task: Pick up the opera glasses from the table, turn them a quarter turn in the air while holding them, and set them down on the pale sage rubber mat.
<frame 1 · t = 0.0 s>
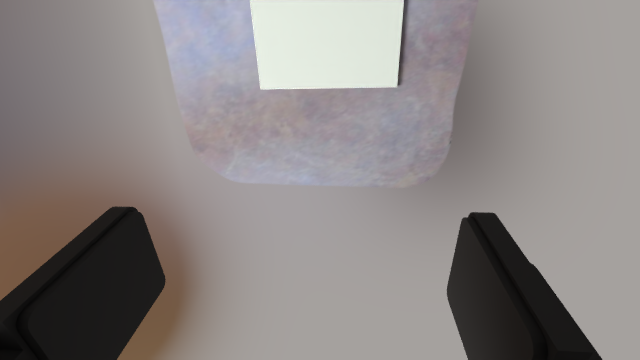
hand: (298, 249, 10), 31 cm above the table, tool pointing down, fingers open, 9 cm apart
mat: (326, 10, 34), on the table
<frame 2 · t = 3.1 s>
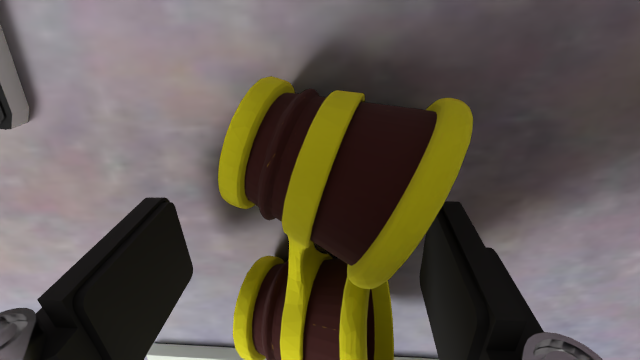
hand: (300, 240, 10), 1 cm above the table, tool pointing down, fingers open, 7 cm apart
opera glasses: (333, 209, 11), on the table, touching gripper
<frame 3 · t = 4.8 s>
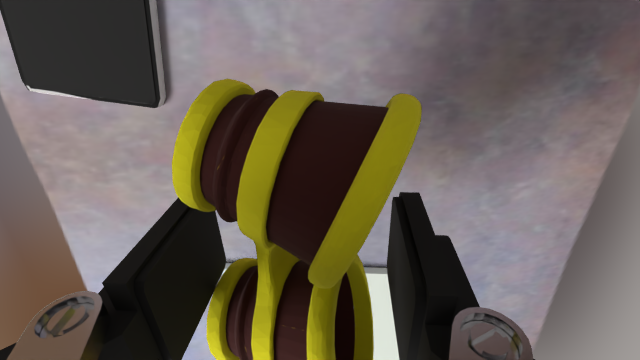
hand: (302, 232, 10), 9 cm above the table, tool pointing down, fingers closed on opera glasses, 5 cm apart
opera glasses: (307, 209, 11), point 8 cm above the table, touching gripper
mat: (327, 344, 26), on the table
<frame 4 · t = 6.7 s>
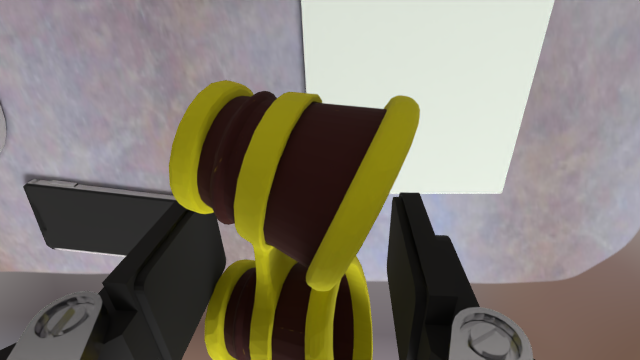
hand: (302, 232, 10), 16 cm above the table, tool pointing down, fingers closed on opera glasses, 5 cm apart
opera glasses: (306, 210, 11), point 15 cm above the table, touching gripper
smartphone: (122, 218, 32), on the table
mat: (413, 98, 24), on the table
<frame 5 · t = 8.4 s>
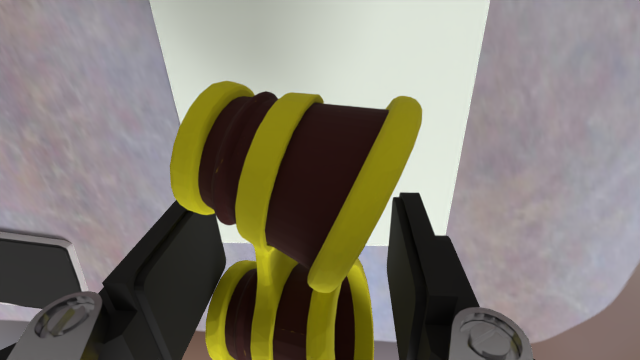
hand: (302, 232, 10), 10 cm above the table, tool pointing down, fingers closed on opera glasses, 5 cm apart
opera glasses: (307, 211, 11), point 8 cm above the table, touching gripper
smartphone: (2, 260, 27), on the table
mat: (319, 130, 19), on the table
when the fingers open (3 cm above the table, at t = 10.0 s): opera glasses drops 1 cm, resting on mat.
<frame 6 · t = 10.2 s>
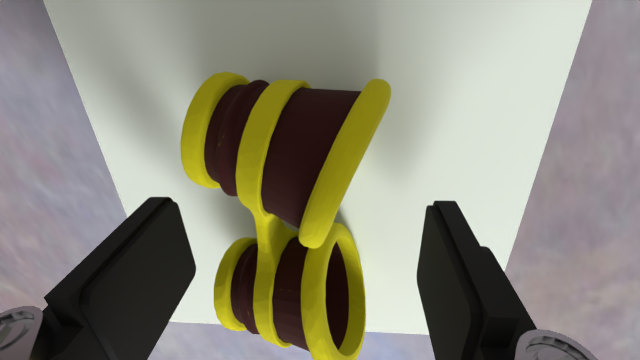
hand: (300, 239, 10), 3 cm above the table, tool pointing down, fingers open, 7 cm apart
opera glasses: (302, 191, 13), resting on mat
mat: (312, 185, 13), on the table
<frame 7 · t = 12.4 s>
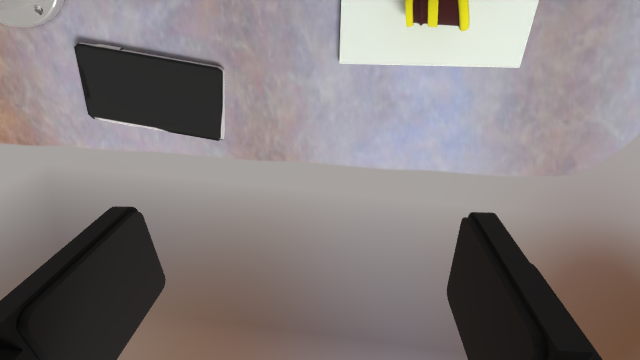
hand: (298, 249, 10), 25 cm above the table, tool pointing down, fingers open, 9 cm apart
smartphone: (158, 91, 34), on the table
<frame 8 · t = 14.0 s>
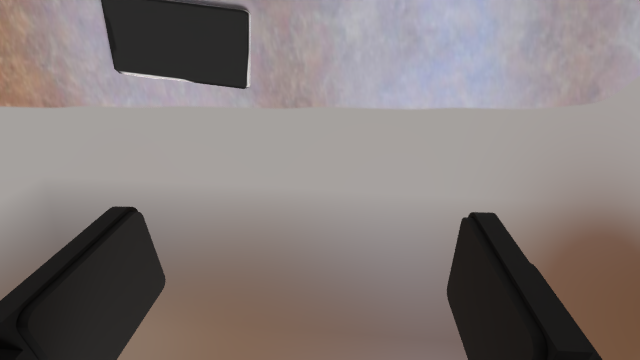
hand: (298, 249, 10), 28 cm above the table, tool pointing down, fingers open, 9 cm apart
smartphone: (183, 42, 35), on the table
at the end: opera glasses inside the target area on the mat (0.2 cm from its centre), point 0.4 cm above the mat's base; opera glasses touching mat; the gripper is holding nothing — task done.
